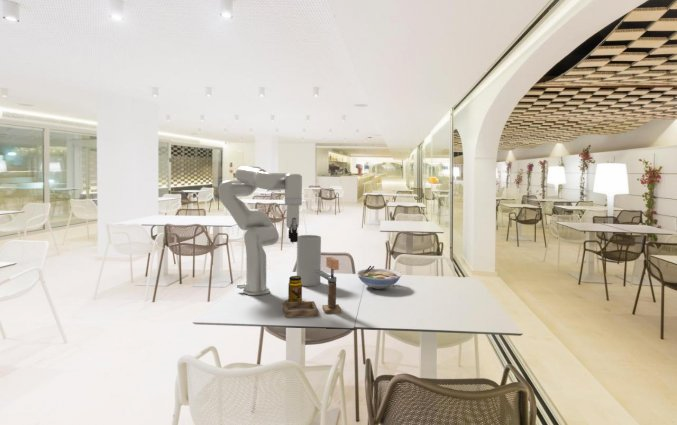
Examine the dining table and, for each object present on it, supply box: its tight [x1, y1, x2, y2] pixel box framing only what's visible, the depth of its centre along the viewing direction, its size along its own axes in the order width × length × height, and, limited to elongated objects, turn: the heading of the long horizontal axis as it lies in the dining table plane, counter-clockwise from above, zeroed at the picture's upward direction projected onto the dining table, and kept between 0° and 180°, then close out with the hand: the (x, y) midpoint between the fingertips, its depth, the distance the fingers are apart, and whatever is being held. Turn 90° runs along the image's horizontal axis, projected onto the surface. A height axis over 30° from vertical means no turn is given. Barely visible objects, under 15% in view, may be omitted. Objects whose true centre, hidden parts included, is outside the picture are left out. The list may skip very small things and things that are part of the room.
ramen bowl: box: [356, 265, 402, 290], centre depth 223 cm, size 25×23×8 cm
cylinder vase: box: [296, 234, 322, 287], centre depth 227 cm, size 12×12×25 cm
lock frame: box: [282, 281, 342, 318], centre depth 182 cm, size 24×12×12 cm, turn 101°
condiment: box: [281, 275, 306, 305], centre depth 194 cm, size 7×8×12 cm
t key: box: [314, 256, 340, 283], centre depth 189 cm, size 22×4×10 cm, turn 26°
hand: (293, 240), depth 192 cm, fingers open, 9 cm apart
